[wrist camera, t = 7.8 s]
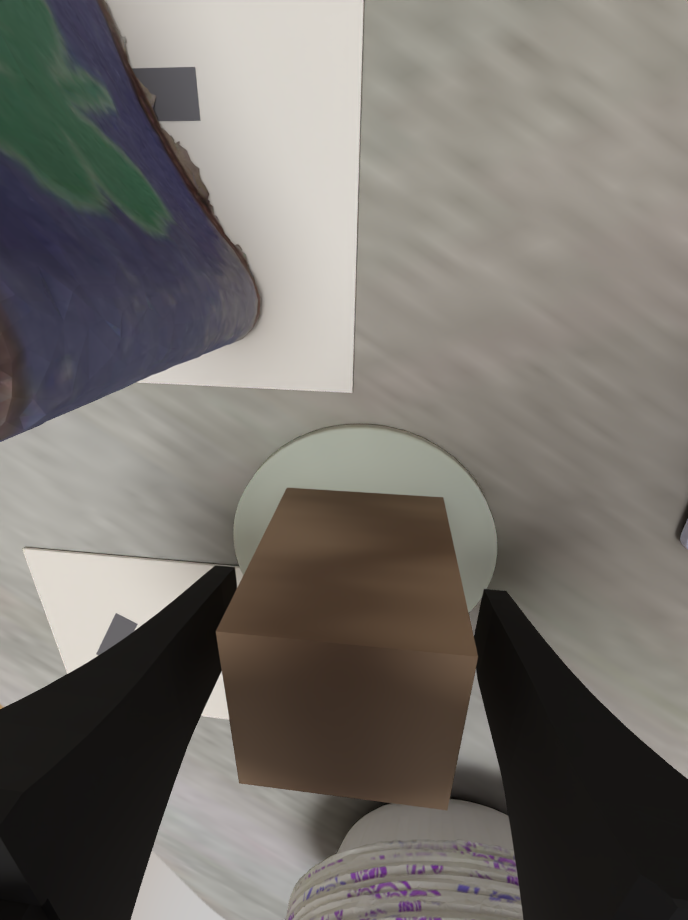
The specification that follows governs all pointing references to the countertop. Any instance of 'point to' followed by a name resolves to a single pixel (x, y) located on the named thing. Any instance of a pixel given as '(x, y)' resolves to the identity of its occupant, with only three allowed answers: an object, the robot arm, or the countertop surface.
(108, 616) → the code tile
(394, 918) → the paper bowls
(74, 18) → the flask
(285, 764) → the walnut block
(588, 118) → the countertop surface
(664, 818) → the robot arm
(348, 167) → the code tile
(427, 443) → the plate
